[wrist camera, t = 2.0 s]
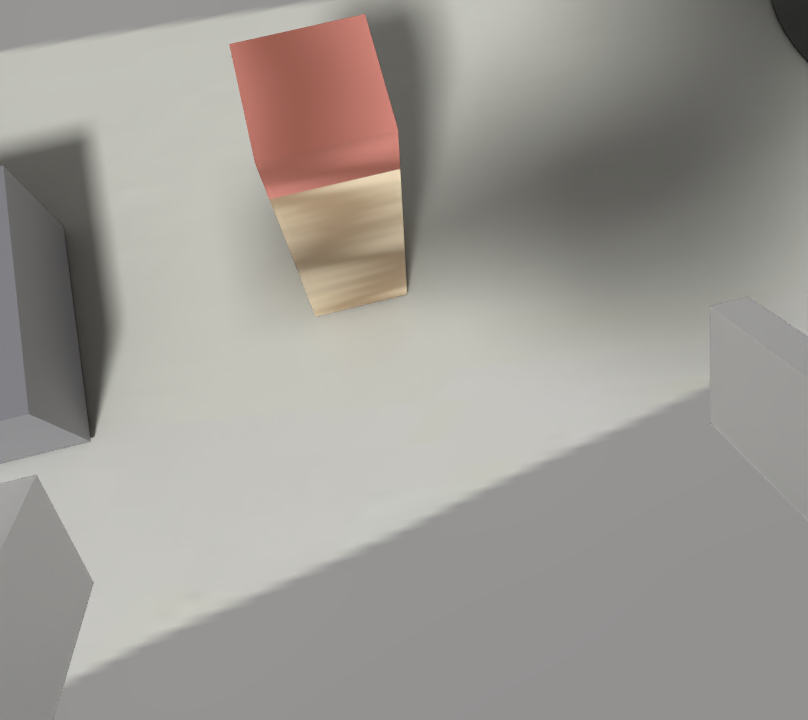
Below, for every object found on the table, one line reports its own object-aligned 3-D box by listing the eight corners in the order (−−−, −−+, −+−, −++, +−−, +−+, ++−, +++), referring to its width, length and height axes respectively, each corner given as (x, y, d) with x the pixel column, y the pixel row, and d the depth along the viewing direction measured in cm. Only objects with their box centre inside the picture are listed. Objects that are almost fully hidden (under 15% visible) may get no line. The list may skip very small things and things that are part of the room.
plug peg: (385, 212, 33) (364, 14, 22) (407, 294, 32) (398, 129, 21) (296, 233, 33) (229, 44, 22) (315, 316, 32) (255, 162, 20)
